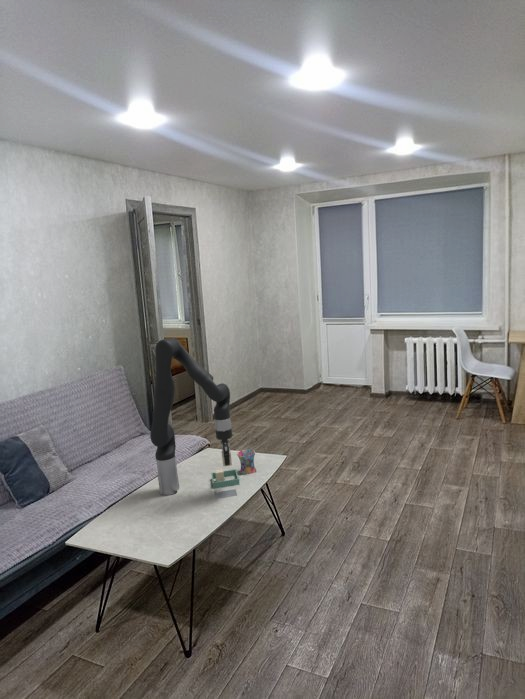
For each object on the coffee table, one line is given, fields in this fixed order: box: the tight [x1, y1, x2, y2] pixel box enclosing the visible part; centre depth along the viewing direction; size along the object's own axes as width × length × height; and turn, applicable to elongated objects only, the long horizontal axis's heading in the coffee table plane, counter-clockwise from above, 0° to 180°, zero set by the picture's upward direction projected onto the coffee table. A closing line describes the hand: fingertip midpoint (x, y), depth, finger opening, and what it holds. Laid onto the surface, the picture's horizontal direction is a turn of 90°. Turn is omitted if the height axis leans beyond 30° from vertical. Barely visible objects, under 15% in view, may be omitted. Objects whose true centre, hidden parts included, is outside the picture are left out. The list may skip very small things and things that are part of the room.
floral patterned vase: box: [236, 449, 257, 475], centre depth 258 cm, size 12×9×11 cm
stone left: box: [214, 468, 226, 482], centre depth 247 cm, size 4×4×6 cm
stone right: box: [221, 451, 233, 467], centre depth 233 cm, size 4×4×6 cm
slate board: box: [214, 488, 238, 500], centre depth 233 cm, size 10×7×1 cm
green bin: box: [210, 469, 240, 489], centre depth 247 cm, size 13×13×4 cm
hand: (227, 463), depth 233 cm, fingers closed on stone right, 4 cm apart
